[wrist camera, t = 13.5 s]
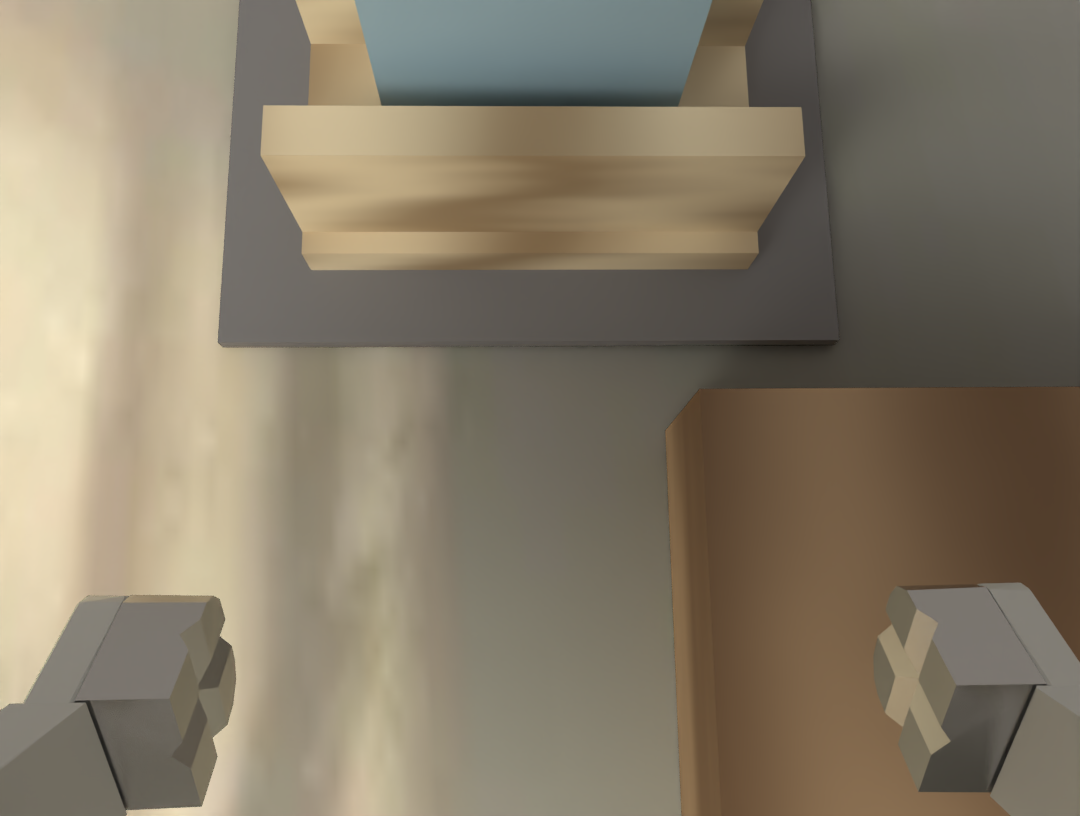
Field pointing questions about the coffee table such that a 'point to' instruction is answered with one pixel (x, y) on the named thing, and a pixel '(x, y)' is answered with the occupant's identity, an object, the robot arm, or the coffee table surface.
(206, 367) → the coffee table surface
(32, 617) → the coffee table surface
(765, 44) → the mat
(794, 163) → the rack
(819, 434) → the block
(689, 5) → the pale blue rectangular prism
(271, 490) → the coffee table surface
